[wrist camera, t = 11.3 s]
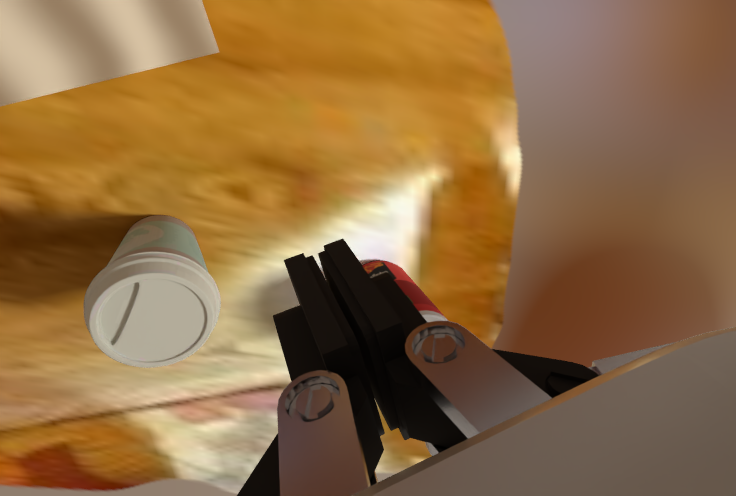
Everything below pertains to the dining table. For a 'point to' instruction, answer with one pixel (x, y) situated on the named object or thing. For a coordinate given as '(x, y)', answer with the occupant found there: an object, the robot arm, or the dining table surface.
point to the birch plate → (93, 41)
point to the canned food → (406, 288)
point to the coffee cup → (153, 296)
